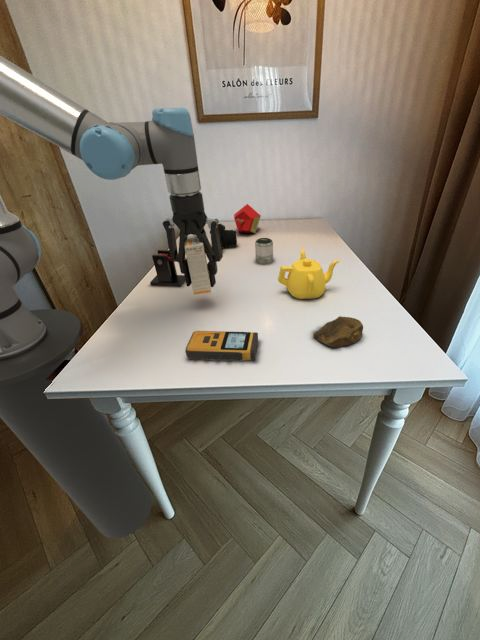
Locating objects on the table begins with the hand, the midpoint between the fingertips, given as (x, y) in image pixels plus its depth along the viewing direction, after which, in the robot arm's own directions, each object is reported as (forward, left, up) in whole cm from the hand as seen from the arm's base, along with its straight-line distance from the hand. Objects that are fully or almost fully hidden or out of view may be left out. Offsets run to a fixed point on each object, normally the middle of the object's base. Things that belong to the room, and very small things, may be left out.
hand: (201, 284), depth 86 cm
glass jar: (+13, +32, -7) cm, 35 cm away
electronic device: (+11, -20, -7) cm, 24 cm away
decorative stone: (+37, -12, -7) cm, 39 cm away
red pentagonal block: (+1, +64, -6) cm, 64 cm away
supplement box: (0, 0, -1) cm, 1 cm away
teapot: (+29, +11, -7) cm, 32 cm away
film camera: (-5, +45, -7) cm, 46 cm away
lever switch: (-11, +13, 0) cm, 17 cm away
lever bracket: (-16, +13, -6) cm, 22 cm away
